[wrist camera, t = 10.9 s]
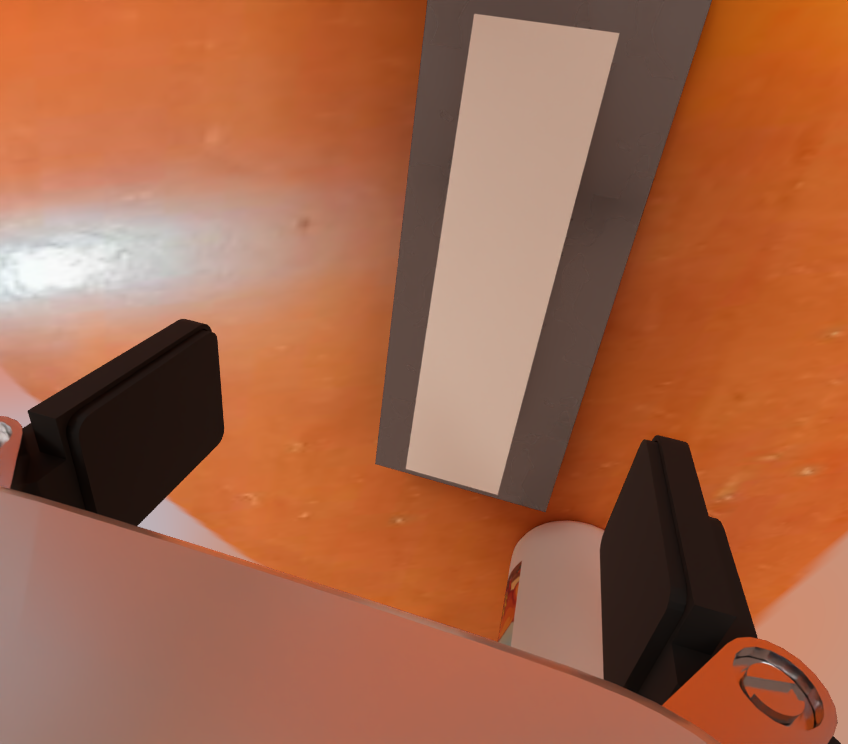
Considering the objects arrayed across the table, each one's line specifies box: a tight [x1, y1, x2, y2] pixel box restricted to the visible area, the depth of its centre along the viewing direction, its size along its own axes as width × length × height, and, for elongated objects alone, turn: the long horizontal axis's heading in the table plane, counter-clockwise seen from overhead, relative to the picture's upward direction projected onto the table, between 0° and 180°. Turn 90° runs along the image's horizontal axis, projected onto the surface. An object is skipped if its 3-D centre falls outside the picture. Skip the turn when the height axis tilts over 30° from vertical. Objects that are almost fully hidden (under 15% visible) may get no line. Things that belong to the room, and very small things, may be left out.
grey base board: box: [375, 0, 712, 512], centre depth 26 cm, size 26×10×3 cm, turn 173°
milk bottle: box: [498, 520, 605, 679], centre depth 26 cm, size 8×8×20 cm
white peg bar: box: [406, 14, 619, 495], centre depth 24 cm, size 18×4×8 cm, turn 172°
